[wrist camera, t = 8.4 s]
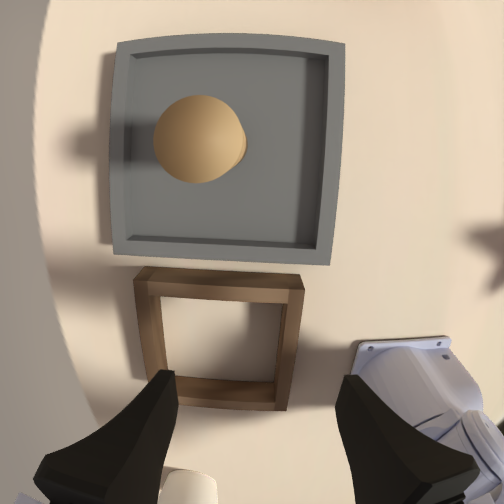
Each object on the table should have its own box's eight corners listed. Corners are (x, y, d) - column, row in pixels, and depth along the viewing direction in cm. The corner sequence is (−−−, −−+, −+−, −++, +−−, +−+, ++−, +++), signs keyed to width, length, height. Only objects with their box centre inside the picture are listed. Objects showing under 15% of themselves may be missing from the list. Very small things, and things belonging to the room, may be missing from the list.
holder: (299, 274, 22) (304, 289, 19) (284, 390, 25) (286, 411, 23) (145, 266, 22) (133, 279, 19) (159, 381, 25) (151, 400, 23)
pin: (248, 121, 18) (244, 95, 9) (246, 169, 19) (240, 184, 10) (199, 120, 18) (155, 97, 9) (197, 168, 19) (152, 183, 10)
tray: (337, 52, 17) (345, 43, 15) (323, 255, 21) (329, 265, 19) (128, 50, 17) (117, 42, 15) (124, 245, 21) (113, 254, 19)
